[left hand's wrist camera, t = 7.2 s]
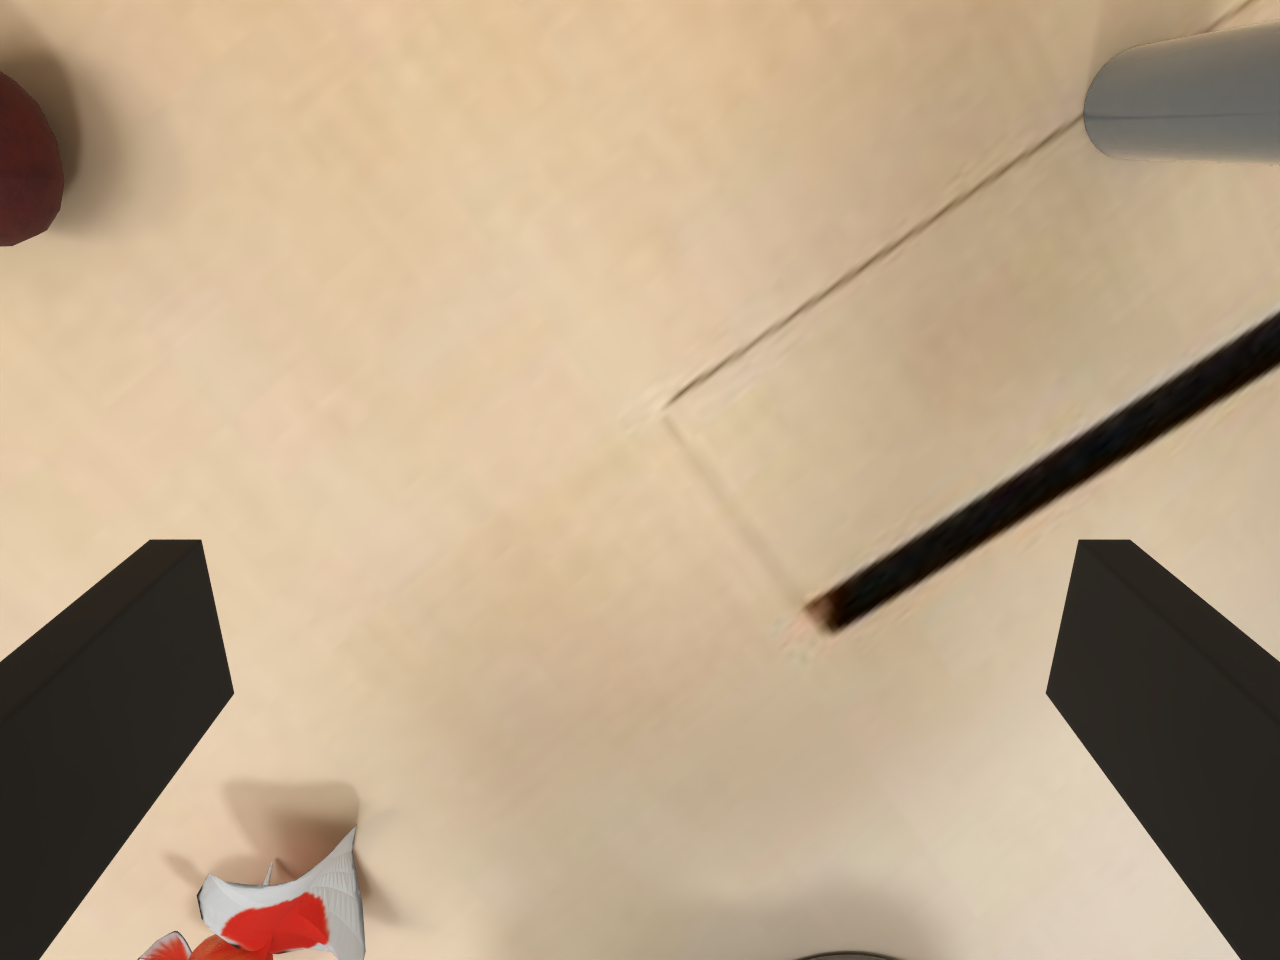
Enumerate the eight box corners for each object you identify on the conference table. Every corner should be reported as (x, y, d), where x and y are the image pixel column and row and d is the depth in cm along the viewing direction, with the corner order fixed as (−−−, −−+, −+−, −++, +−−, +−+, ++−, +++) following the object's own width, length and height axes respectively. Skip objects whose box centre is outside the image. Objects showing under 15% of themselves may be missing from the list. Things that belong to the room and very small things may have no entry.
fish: (55, 926, 47) (57, 1095, 40) (295, 736, 50) (338, 858, 43) (192, 987, 54) (215, 1142, 46) (395, 816, 57) (448, 934, 50)
